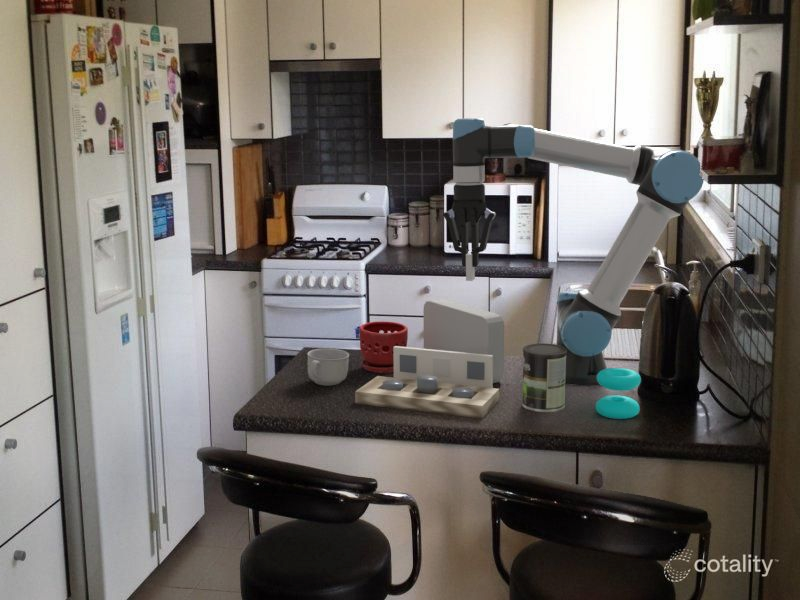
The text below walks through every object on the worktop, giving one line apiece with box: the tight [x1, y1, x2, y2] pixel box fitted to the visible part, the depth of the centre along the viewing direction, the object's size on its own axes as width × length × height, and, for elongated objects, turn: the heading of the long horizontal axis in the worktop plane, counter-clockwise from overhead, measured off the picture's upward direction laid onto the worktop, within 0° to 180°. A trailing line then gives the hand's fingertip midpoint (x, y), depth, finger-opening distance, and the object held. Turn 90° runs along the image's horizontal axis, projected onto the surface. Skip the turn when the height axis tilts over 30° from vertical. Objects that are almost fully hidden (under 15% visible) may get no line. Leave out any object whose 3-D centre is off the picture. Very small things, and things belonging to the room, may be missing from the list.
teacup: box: [306, 348, 350, 387], centre depth 249 cm, size 14×11×8 cm
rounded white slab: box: [423, 298, 505, 384], centre depth 257 cm, size 29×8×18 cm, turn 33°
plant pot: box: [358, 320, 409, 374], centre depth 261 cm, size 13×13×12 cm
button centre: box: [417, 375, 438, 393], centre depth 233 cm, size 5×5×3 cm
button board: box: [354, 375, 500, 419], centre depth 234 cm, size 32×14×3 cm, turn 68°
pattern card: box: [393, 346, 494, 388], centre depth 243 cm, size 26×5×10 cm, turn 68°
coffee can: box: [521, 342, 567, 413], centre depth 229 cm, size 10×10×14 cm
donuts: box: [595, 367, 642, 420], centre depth 224 cm, size 10×10×10 cm
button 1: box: [383, 380, 403, 391], centre depth 237 cm, size 5×5×3 cm
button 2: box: [452, 387, 473, 399], centre depth 230 cm, size 5×5×3 cm
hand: (470, 279), depth 237 cm, fingers closed
